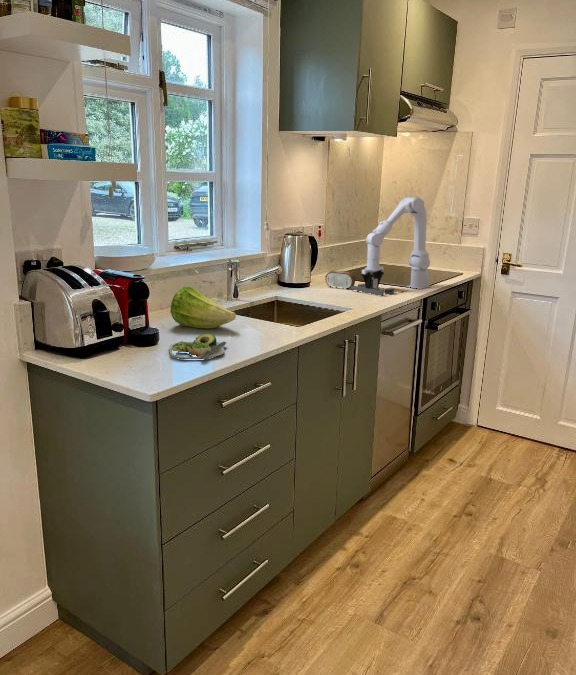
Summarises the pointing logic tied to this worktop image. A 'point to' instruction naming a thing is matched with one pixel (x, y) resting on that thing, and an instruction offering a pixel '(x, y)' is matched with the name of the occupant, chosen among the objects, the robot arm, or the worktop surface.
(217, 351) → the salad plate
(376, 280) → the grey t-shaped block
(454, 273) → the worktop surface
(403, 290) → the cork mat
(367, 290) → the vise jaws
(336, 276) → the tin
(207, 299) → the lettuce
